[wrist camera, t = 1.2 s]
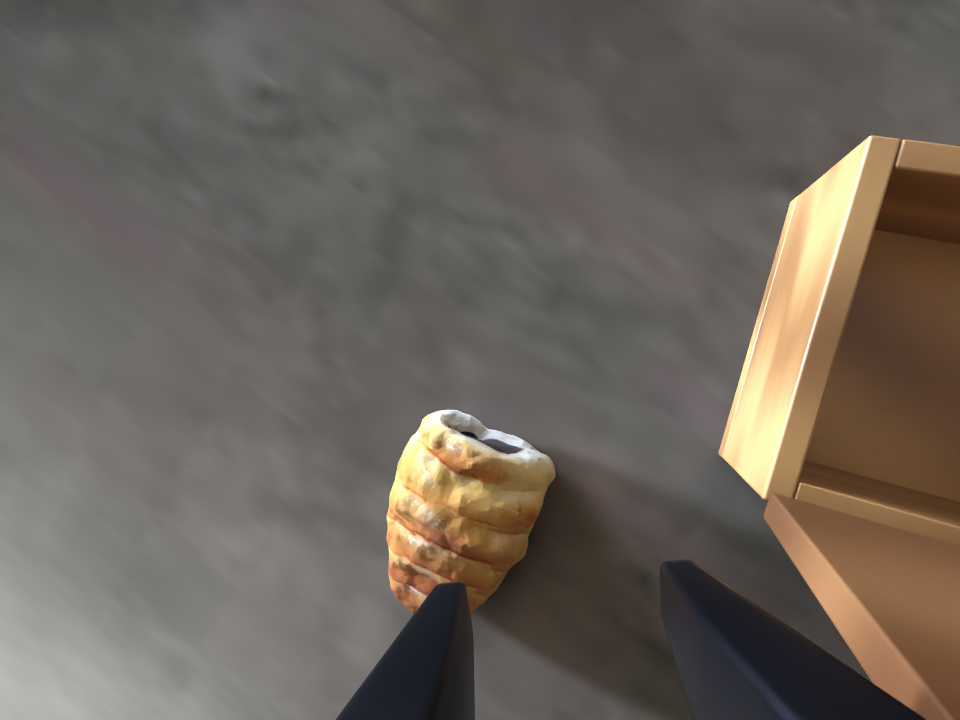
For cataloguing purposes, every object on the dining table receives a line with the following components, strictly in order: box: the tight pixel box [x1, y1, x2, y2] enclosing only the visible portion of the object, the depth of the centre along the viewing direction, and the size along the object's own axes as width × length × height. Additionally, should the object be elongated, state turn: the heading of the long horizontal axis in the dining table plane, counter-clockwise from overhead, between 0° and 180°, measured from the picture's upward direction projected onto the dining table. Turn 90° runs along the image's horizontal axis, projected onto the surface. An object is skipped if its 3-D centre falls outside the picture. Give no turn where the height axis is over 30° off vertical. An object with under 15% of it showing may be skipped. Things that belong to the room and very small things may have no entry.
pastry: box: [387, 410, 555, 615], centre depth 23 cm, size 9×7×4 cm
